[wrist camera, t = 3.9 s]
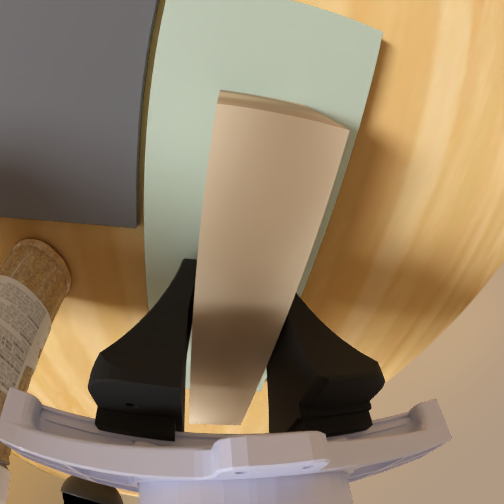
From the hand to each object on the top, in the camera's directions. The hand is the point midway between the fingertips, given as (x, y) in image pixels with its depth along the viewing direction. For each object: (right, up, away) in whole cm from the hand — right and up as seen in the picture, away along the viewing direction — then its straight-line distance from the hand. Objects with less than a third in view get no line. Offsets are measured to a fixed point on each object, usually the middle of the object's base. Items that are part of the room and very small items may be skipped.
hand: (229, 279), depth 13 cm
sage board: (0, +1, +1) cm, 2 cm away
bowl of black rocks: (-47, -67, +45) cm, 94 cm away
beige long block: (0, 0, +1) cm, 1 cm away
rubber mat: (-10, +9, -5) cm, 14 cm away
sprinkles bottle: (-11, 0, +1) cm, 11 cm away
